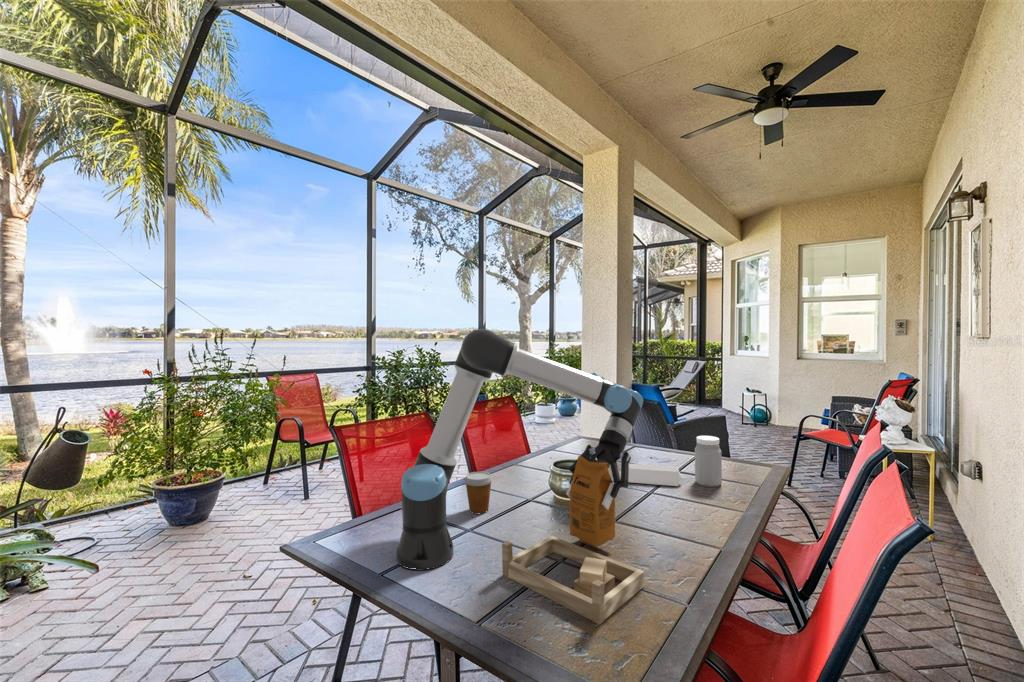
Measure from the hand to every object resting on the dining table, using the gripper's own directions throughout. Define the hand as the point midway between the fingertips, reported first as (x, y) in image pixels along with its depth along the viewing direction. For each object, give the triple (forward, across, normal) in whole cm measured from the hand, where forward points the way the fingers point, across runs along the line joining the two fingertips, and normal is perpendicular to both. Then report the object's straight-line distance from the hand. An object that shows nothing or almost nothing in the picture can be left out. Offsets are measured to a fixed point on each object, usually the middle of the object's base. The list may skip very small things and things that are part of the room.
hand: (586, 501), depth 125 cm
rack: (+20, -6, +2) cm, 21 cm away
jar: (-44, -4, -64) cm, 78 cm away
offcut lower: (+20, -12, +1) cm, 24 cm away
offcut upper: (+18, -12, +3) cm, 22 cm away
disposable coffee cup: (+11, +43, -8) cm, 45 cm away
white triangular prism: (-35, +14, -55) cm, 66 cm away
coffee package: (+6, 0, -10) cm, 11 cm away
